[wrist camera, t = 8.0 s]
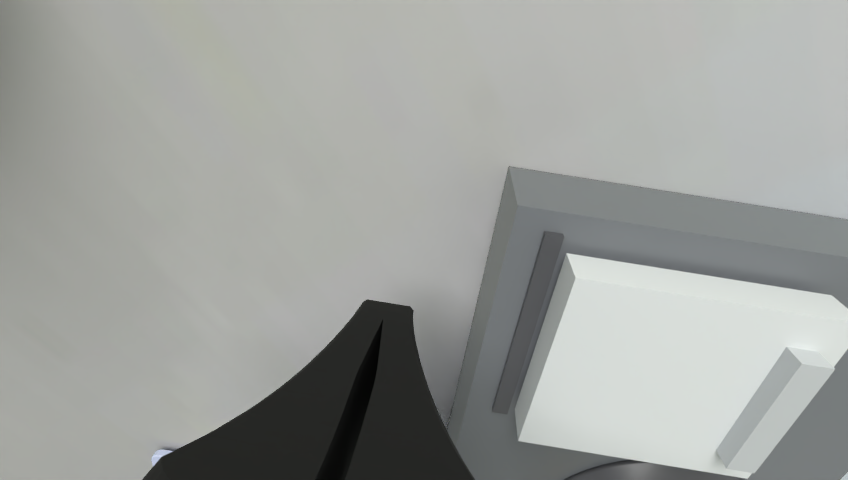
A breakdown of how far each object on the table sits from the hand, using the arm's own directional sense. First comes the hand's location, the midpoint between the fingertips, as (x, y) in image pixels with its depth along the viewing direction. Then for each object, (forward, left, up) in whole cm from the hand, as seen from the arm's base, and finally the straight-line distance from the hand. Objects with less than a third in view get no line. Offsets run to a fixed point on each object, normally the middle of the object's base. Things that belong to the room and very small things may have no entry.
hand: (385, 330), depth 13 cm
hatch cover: (0, -8, -1) cm, 8 cm away
